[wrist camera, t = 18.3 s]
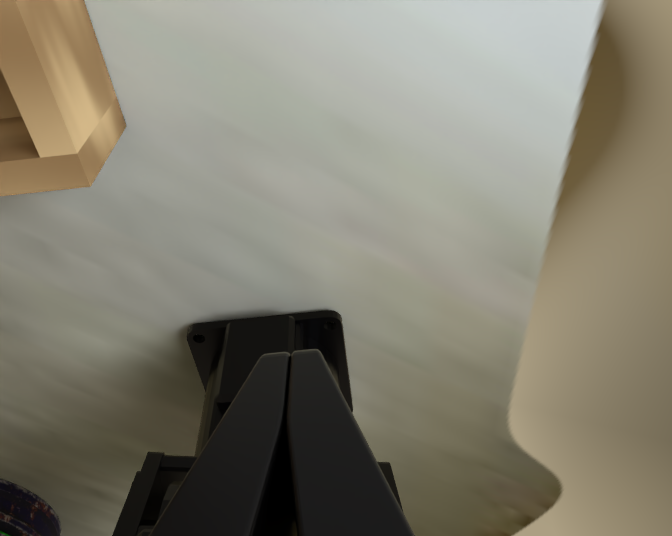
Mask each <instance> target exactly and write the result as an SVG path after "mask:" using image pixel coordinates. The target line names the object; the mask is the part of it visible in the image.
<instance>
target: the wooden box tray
mask: <svg viewBox="0 0 672 536" xmlns="http://www.w3.org/2000/svg"><path fill="white" fill-rule="evenodd" d="M125 128H126V123H125V120H124V117H123V114H122V112H121V109H120V106H119V103H118V100H117V97H116V94H115V91H114V88H113V85H112V82H111V79H110V76H109V73H108V70H107V67H106V64H105V61H104V58H103V55H102V52H101V49H100V47H99V44H98V41H97V38H96V35H95V32H94V29H93V26H92V23H91V20H90V17H89V14H88V11H87V8H86V5H85V2H84V0H0V196H7V195H16V194H25V193H35V192H44V191H53V190H63V189H72V188H81V187H91V185H92V183H93V182H94V180H95V178H96V177H97V175H98V173H99V172H100V170H101V168H102V166H103V165H104V163H105V161H106V160H107V158H108V156H109V155H110V153H111V151H112V150H113V148H114V146H115V145H116V143H117V141H118V139H119V138H120V136H121V134H122V133H123V131H124V129H125Z"/></svg>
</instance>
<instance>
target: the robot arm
mask: <svg viewBox="0 0 672 536" xmlns="http://www.w3.org/2000/svg"><path fill="white" fill-rule="evenodd" d="M328 321H333V322H334V323H331V324H328V323H326V322H328ZM196 334H201V335H203V336H197V335H196ZM187 341H188V344H189V346H190V349H191V352H192V355H193V358H194V361H195V363H196V366H197V369H198V372H199V375H200V377H201V380H202V383H203V386H204V389H205V391H206V395H205V401H204V406H203V412H202V417H201V423H200V429H199V434H198V440H197V445H196V451H195V456H194V457H193V456H170V455H164V453H160V452H148V454H147V456H146V459H145V461H144V464H143V467H142V469H141V471H137V473H136V476H135V478H134V481H133V482H132V486H131V489H130V491H129V494H128V496H127V499H126V502H125V504H124V507H123V509H122V512H121V515H120V517H119V520H118V522H117V525H116V527H115V530H114V533H113V535H112V536H415V535H414V533H413V531H412V529H411V527H410V525H409V523H408V521H407V519H406V517H405V515H404V513H403V510H402V506H401V502H400V498H399V495H398V491H397V487H396V484H395V480H394V476H393V473H392V469H391V465H390V463H389V462H377V461H376V459H375V457H374V455H373V453H372V451H371V449H370V447H369V445H368V443H367V441H366V439H365V437H364V435H363V433H362V431H361V429H360V428H359V426H358V424H357V422H356V420H355V418H354V416H353V414H352V412H353V405H352V396H351V388H350V380H349V372H348V365H347V357H346V349H345V341H344V333H343V325H342V318H341V315H340V314H339V313H338V312H336V311H331V310H327V311H317V312H307V313H297V314H287V315H277V316H267V317H257V318H247V319H237V320H226V321H216V322H206V323H197V324H193V325H192V326H190V328H189V330H188V334H187Z"/></svg>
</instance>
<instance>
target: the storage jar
mask: <svg viewBox="0 0 672 536" xmlns="http://www.w3.org/2000/svg"><path fill="white" fill-rule="evenodd" d="M60 533H61V524H60V521H59V518H58V516H57V514H56V513H55V512H54V510H53V509H52V508H51V507H50V506H49V505H48V504H47V503H46V502H45V501H44V500H42V499H41V498H39V497H38V496H37V495H35V494H33V493H32V492H30V491H28V490H26V489H24V488H22V487H20V486H18V485H15V484H13V483H11V482H8V481H5V480H2V479H0V536H60Z"/></svg>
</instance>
